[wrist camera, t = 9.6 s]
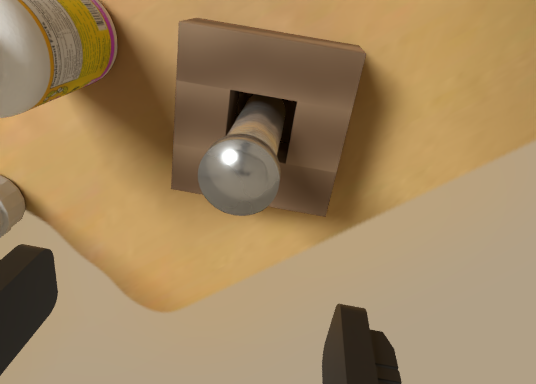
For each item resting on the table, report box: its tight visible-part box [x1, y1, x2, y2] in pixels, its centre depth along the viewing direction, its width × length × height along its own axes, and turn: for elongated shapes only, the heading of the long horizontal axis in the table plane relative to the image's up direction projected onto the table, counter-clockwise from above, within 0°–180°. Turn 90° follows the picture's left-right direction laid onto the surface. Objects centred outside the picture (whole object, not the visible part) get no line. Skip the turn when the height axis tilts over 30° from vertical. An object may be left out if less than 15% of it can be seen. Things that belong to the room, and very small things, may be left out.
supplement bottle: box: [0, 0, 118, 118], centre depth 22 cm, size 7×7×13 cm
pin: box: [198, 94, 286, 216], centre depth 24 cm, size 4×4×12 cm
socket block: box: [171, 18, 366, 217], centre depth 27 cm, size 11×11×4 cm
